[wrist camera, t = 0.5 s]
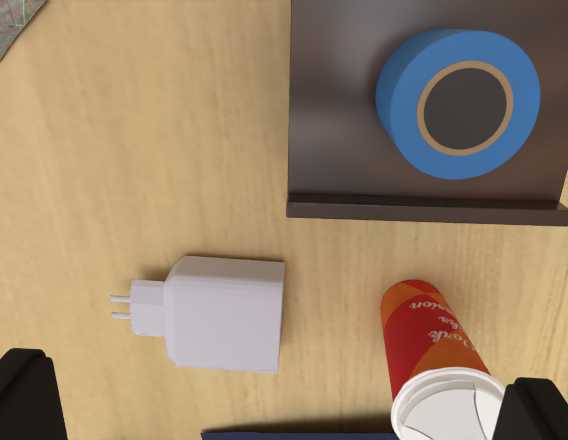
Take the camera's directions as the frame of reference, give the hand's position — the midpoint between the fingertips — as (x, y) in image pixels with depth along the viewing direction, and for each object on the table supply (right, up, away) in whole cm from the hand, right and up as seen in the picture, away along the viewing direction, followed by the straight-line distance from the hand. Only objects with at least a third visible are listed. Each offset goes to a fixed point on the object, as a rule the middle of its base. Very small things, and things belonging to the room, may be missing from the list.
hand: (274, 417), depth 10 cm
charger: (-7, -3, +34) cm, 35 cm away
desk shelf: (+9, +14, +26) cm, 30 cm away
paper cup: (+12, -4, +33) cm, 35 cm away
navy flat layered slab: (+8, -26, +43) cm, 51 cm away
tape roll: (+9, +11, +16) cm, 21 cm away
